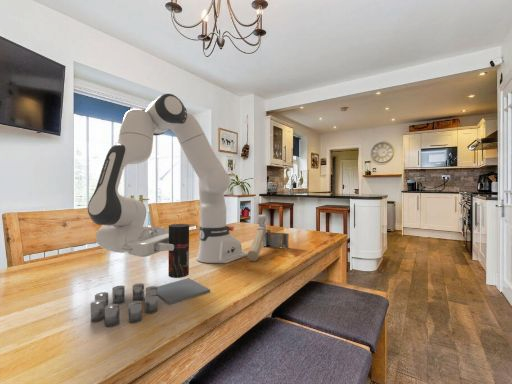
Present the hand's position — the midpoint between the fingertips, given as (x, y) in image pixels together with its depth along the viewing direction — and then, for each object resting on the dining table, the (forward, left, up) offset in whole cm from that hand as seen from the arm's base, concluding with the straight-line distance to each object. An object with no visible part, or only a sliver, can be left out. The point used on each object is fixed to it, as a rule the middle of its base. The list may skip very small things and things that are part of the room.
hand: (181, 244), depth 80 cm
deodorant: (+1, -1, -9) cm, 10 cm away
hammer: (-48, -17, -15) cm, 53 cm away
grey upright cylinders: (+16, +1, -14) cm, 22 cm away
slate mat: (0, -1, -14) cm, 14 cm away
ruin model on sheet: (-62, -18, -15) cm, 66 cm away
